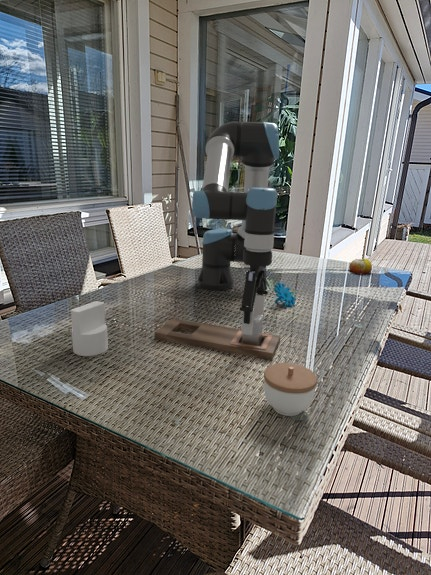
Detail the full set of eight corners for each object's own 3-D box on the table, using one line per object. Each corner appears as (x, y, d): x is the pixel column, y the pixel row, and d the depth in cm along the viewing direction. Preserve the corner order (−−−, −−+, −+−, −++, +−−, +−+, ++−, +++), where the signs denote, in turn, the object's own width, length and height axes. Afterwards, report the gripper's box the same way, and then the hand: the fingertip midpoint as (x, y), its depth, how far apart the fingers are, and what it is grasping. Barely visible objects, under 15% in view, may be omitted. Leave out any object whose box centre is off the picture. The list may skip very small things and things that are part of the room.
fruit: (351, 267, 206) (358, 253, 203) (370, 276, 202) (377, 262, 198) (344, 270, 197) (351, 256, 194) (364, 280, 193) (371, 265, 189)
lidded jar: (257, 394, 89) (260, 355, 86) (304, 393, 90) (308, 355, 87) (267, 424, 79) (271, 381, 76) (320, 422, 80) (325, 381, 77)
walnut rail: (172, 324, 125) (172, 317, 125) (279, 342, 115) (280, 335, 115) (154, 338, 114) (154, 331, 114) (272, 360, 104) (272, 352, 104)
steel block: (245, 342, 115) (247, 312, 112) (260, 344, 113) (263, 315, 111) (241, 348, 111) (243, 318, 108) (257, 351, 109) (259, 320, 107)
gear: (285, 305, 141) (272, 281, 144) (273, 314, 144) (261, 290, 148) (302, 303, 149) (290, 280, 152) (291, 311, 152) (279, 288, 156)
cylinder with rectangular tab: (89, 359, 101) (86, 315, 98) (65, 349, 106) (62, 307, 102) (115, 346, 109) (113, 305, 105) (92, 338, 113) (89, 298, 110)
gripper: (254, 239, 116) (250, 308, 123) (230, 257, 94) (226, 340, 100) (280, 242, 114) (274, 311, 120) (262, 260, 91) (256, 345, 98)
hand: (252, 324), depth 110 cm, fingers open, 13 cm apart
